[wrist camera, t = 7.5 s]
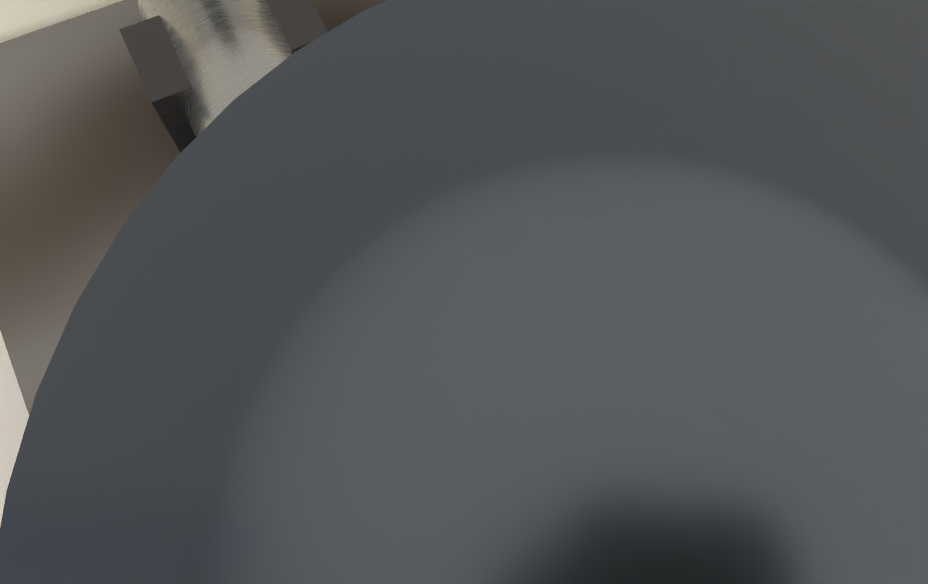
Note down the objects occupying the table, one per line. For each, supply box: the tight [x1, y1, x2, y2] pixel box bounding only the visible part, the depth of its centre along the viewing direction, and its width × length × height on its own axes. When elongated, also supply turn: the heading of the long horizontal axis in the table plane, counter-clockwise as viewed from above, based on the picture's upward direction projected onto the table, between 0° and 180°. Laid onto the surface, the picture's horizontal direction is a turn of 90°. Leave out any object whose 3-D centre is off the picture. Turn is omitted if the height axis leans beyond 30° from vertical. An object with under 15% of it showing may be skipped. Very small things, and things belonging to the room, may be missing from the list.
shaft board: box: [0, 0, 387, 415], centre depth 18 cm, size 23×23×1 cm
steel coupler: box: [0, 0, 928, 584], centre depth 8 cm, size 5×5×13 cm
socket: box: [119, 0, 328, 153], centre depth 17 cm, size 18×18×3 cm
